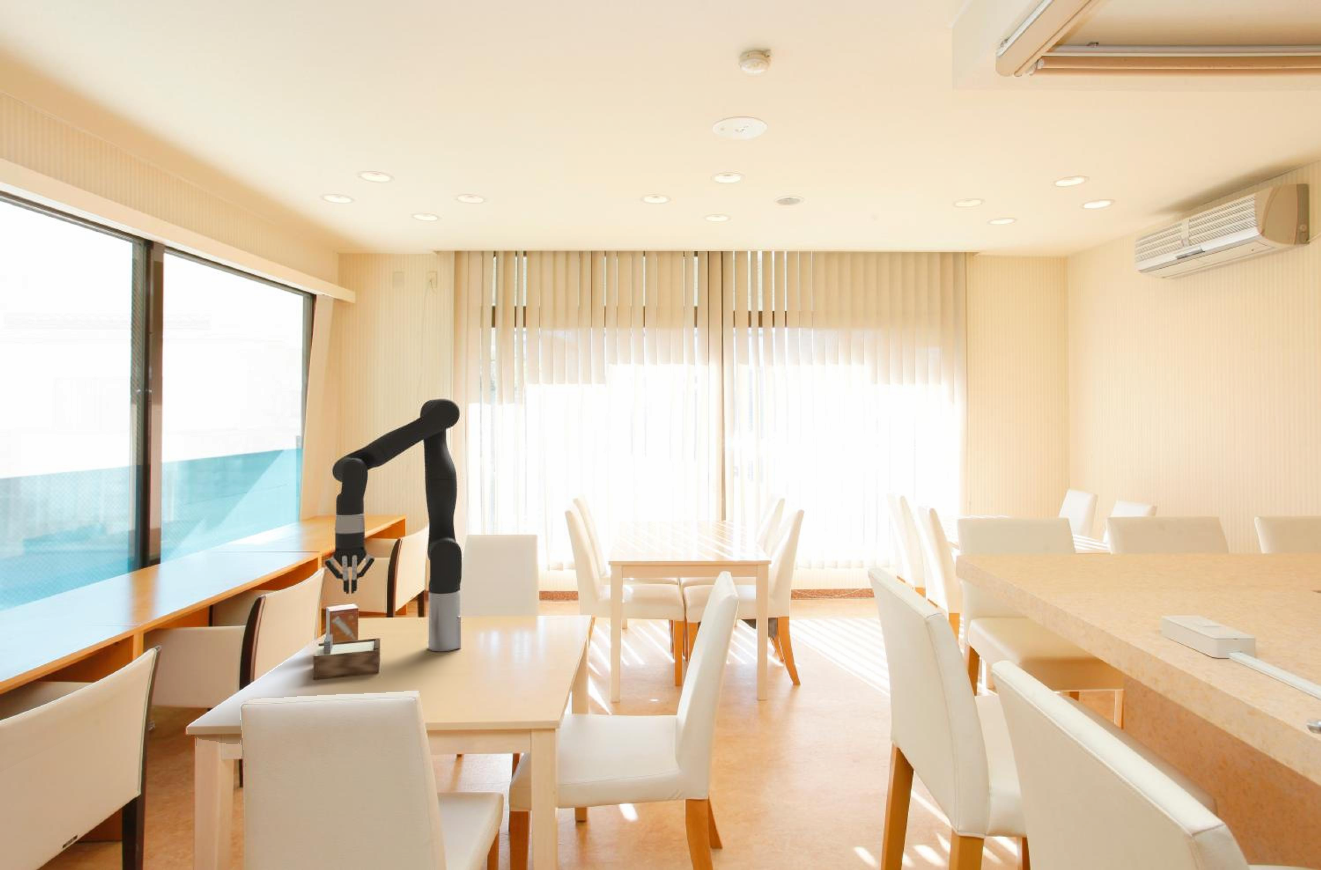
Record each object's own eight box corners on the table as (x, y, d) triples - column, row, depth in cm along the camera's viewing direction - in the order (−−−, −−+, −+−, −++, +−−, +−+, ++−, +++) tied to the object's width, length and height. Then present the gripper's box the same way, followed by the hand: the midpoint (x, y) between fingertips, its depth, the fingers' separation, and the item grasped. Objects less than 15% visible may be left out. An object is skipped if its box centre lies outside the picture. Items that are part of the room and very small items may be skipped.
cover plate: (374, 643, 204) (374, 628, 204) (372, 654, 194) (372, 639, 194) (318, 648, 199) (318, 633, 199) (313, 659, 189) (313, 644, 189)
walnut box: (380, 659, 205) (380, 636, 205) (378, 672, 194) (378, 649, 194) (318, 665, 200) (318, 642, 200) (313, 679, 188) (313, 655, 188)
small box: (329, 655, 209) (329, 611, 209) (325, 650, 214) (325, 606, 214) (358, 650, 213) (358, 607, 213) (354, 645, 219) (354, 603, 219)
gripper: (376, 527, 203) (376, 588, 203) (324, 529, 198) (324, 592, 198) (375, 530, 195) (375, 594, 196) (321, 533, 191) (321, 598, 191)
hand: (350, 592), depth 197 cm, fingers closed
